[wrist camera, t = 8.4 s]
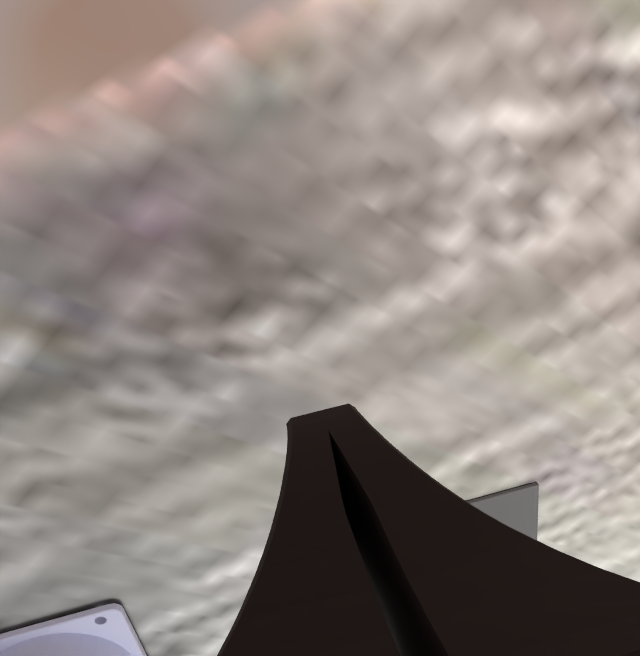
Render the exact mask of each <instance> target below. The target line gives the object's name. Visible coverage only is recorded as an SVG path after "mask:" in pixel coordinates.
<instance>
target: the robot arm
mask: <svg viewBox="0 0 640 656" xmlns="http://www.w3.org/2000/svg"><path fill="white" fill-rule="evenodd" d="M287 432H288V443H287V455H286V463H285V469H284V475H283V481H282V486H281V491H280V496H279V500H278V504H277V508H276V512H275V515H274V519H273V523H272V527H271V530H270V533H269V537H268V540H267V543H266V546H265V549H264V552H263V555H262V557H261V560H260V563H259V566H258V568H257V571H256V574H255V576H254V579H253V581H252V583H251V586H250V588H249V591H248V593H247V595H246V598H245V600H244V603H243V605H242V607H241V609H240V611H239V614H238V616H237V618H236V620H235V622H234V624H233V626H232V628H231V630H230V632H229V634H228V636H227V638H226V640H225V642H224V644H223V646H222V647H221V649H220V651H219V653H218V655H217V656H640V582H637V581H634V580H632V579H629V578H626V577H623V576H620V575H617V574H614V573H612V572H609V571H606V570H603V569H601V568H598V567H596V566H593V565H591V564H588V563H586V562H584V561H581V560H579V559H576V558H574V557H572V556H569V555H567V554H565V553H562V552H560V551H558V550H555V549H553V548H551V547H549V546H547V545H545V544H543V543H541V542H539V541H537V540H535V539H533V538H531V537H529V536H527V535H525V534H523V533H521V532H519V531H517V530H515V529H513V528H511V527H509V526H507V525H505V524H503V523H502V522H500V521H498V520H496V519H495V518H493V517H491V516H489V515H488V514H486V513H484V512H482V511H481V510H479V509H478V508H476V507H474V506H473V505H471V504H470V503H468V502H466V501H465V500H463V499H462V498H460V497H459V496H457V495H456V494H454V493H453V492H451V491H450V490H449V489H447V488H446V487H444V486H443V485H441V484H440V483H439V482H437V481H436V480H435V479H433V478H432V477H431V476H429V475H428V474H427V473H425V472H424V471H423V470H421V469H420V468H419V467H418V466H416V465H415V464H414V463H413V462H411V461H410V460H409V459H408V458H407V457H406V456H404V455H403V454H402V453H401V452H400V451H399V450H397V449H396V448H395V447H394V446H393V445H392V444H390V443H389V442H388V441H387V440H386V439H385V438H384V437H383V436H382V435H381V434H380V433H379V432H378V431H377V430H376V429H375V428H373V427H372V426H371V425H370V423H369V422H368V421H367V420H366V419H365V418H364V417H363V416H362V415H361V414H360V413H359V412H358V411H357V409H356V408H355V407H353V406H352V405H350V404H345V405H341V406H337V407H333V408H329V409H325V410H321V411H317V412H313V413H309V414H305V415H301V416H297V417H293V418H291V419H290V420H289V421H288V423H287ZM0 656H147V655H146V653H145V651H144V649H143V647H142V645H141V643H140V641H139V639H138V637H137V635H136V633H135V631H134V629H133V627H132V625H131V623H130V621H129V619H128V617H127V615H126V613H125V610H124V608H123V607H122V606H121V605H119V604H115V603H112V604H107V605H103V606H100V607H96V608H93V609H89V610H85V611H82V612H78V613H74V614H71V615H67V616H64V617H60V618H56V619H53V620H49V621H45V622H42V623H38V624H35V625H31V626H27V627H24V628H20V629H16V630H13V631H9V632H6V633H2V634H0Z"/></svg>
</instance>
